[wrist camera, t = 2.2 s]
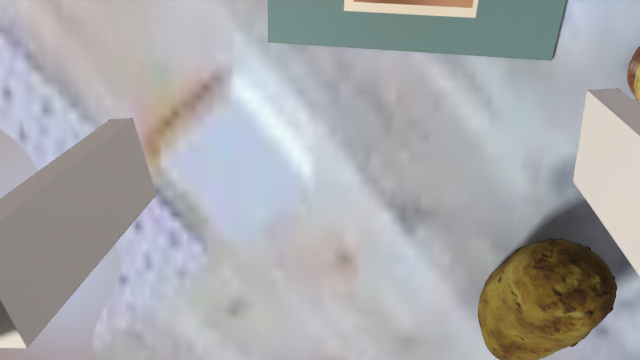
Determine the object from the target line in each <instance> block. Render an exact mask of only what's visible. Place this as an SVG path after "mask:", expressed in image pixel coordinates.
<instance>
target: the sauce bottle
mask: <svg viewBox="0 0 640 360" xmlns="http://www.w3.org/2000/svg"><path fill="white" fill-rule="evenodd" d="M628 84H629V86H630V89H631V91H632V93H633V95H634V96H635V98H636V100H637V101H639V102H640V47H639V48H638V49H637V51H636V52H635V54H634V55H633V57H632V60H631V62H630V64H629V70H628Z"/></svg>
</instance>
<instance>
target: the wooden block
mask: <svg viewBox="0 0 640 360" xmlns="http://www.w3.org/2000/svg"><path fill="white" fill-rule="evenodd" d="M353 2H366V3H385V4H404V5H424V6H443V7H462V8H472V6H473V0H353Z"/></svg>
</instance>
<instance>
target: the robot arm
mask: <svg viewBox="0 0 640 360" xmlns="http://www.w3.org/2000/svg"><path fill="white" fill-rule="evenodd" d="M573 182H574V183H575V185H576V186H577V187H578V189H579V190H580V192H581V193H582V195H583V196H584V197H585V199H586V200H587V202H588V203H589V205H590V206H591V207H592V209H593V210H594V212H595V213H596V215H597V216H598V217H599V219H600V220H601V222H602V223H603V225H604V226H605V227H606V229H607V230H608V232H609V233H610V235H611V236H612V237H613V239H614V240H615V242H616V243H617V245H618V246H619V248H620V249H621V250H622V252H623V253H624V255H625V256H626V258H627V259H628V260H629V262H630V263H631V265H632V266H633V268H634V269H635V270H636V272H637V273H638V275H639V276H640V104H639V103H637V102H636V101H635V100H633V99H632V98H631V97H629V96H628V95H627V94H625V93H624V92H623V91H621V90H620V89H619V88H615V89H599V90H587V95H586V101H585V108H584V114H583V120H582V127H581V133H580V140H579V146H578V153H577V159H576V166H575V172H574V179H573ZM155 196H156V192H155V189H154V186H153V183H152V179H151V176H150V173H149V170H148V166H147V163H146V160H145V157H144V153H143V150H142V147H141V144H140V140H139V137H138V134H137V131H136V127H135V124H134V121H133V118H128V119H112V120H109V121H108V122H106V123H105V124H103V125H102V126H101V127H99V128H98V129H96V130H95V131H94V132H92V133H91V134H89V135H88V136H87V137H85V138H84V139H83V140H81V141H80V142H78V143H77V144H76V145H74V146H73V147H71V148H70V149H69V150H67V151H66V152H65V153H63V154H62V155H60V156H59V157H58V158H56V159H55V160H53V161H52V162H51V163H49V164H48V165H47V166H45V167H44V168H42V169H41V170H40V171H38V172H37V173H35V174H34V175H33V176H31V177H30V178H28V179H27V180H26V181H24V182H23V183H22V184H20V185H19V186H17V187H16V188H15V189H13V190H12V191H11V192H9V193H8V194H6V195H5V196H4V197H2V198H1V199H0V348H28V347H29V345H30V344H31V343H32V342H33V341H34V340H35V338H36V337H37V336H38V335H39V334H40V332H41V331H42V330H43V329H44V328H45V326H46V325H47V324H48V323H49V322H50V321H51V319H52V318H53V317H54V316H55V315H56V313H57V312H58V311H59V309H61V307H62V306H63V305H64V304H65V302H67V300H68V299H69V298H70V297H71V295H72V294H73V293H74V292H75V291H76V290H77V288H78V287H79V286H80V285H81V284H82V283H83V281H84V280H85V279H86V278H87V277H88V275H89V274H90V273H91V272H92V271H93V269H94V268H95V267H96V266H97V265H98V264H99V262H100V261H101V260H102V259H103V258H104V256H105V255H106V254H107V253H108V251H110V249H111V248H112V247H113V246H114V245H115V243H116V242H117V241H118V240H119V239H120V237H121V236H122V235H123V234H124V233H125V232H126V230H127V229H128V228H129V227H130V226H131V224H132V223H133V222H134V221H135V220H136V218H137V217H138V216H139V215H140V214H141V213H142V211H143V210H144V209H145V208H146V207H147V205H148V204H149V203H150V202H151V201H152V199H153V198H154V197H155Z"/></svg>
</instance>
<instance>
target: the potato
mask: <svg viewBox="0 0 640 360" xmlns="http://www.w3.org/2000/svg"><path fill="white" fill-rule="evenodd" d="M616 290H617V285H616V282H615V277H614V276H613V275H612V273H611V271H610V269H609V267H608V266H607V264H606V263H605V262H604V261H603V260H602V259H601V258H600V257H599V256H598V255H597V254H596V253H594V252H592V251H591V249H590V247H588V246H585V247H584V246H582V245H581V244H576V243H573V242H570V241H567V240H564V239H554V240H553V239H552V238H550V239H548V240H546V241H540V242H536V243H532V244H530V245H527V246H525V247H523V248H519V249H517V250H516V251H515V252H514V253H513V254H512V255H511V256H510V257H509V258H508V259H507V260H506V261H505V262H504V264H502V265H500V266H499V267H498V268H496V269H495V270H494V271H493V272H492V273H491V275H490V276H489V278H488V279H487V281H486V283H485V285H484V288H483V290H482V293H481V296H480V299H479V305H478V319H479V324H480V327H481V331H482V335H483V338H484V341H485V344H486V346H487V348H488V349H489V351H490V352H491V353H492V354H493V355H494V356H495V357H496V358H498V359H500V360H538V359H541V358H544V357H546V356H548V355H551V354H553V353H554V352H556V351H559V350H561V349H563V348H566V347H568V346H570V347H573V346H575V345H576V344H577V343H578V342H579V341H581V340H582V339H584V338H585V337H586V336H587V335H588V334H589V333H590V332H591V330H592V329H593V328H595V327H596V326H597V325H598V324H599V323H600V322H601V321H602V320H603V319H604V318H605V317H606V316H607V315H608V313H610V312H611V311H612V310H613V305H614V302H615V298H616Z"/></svg>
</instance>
